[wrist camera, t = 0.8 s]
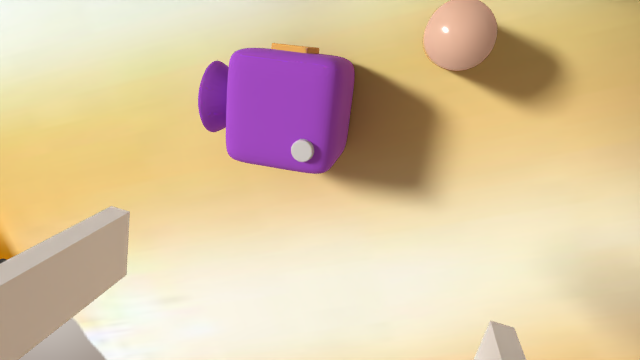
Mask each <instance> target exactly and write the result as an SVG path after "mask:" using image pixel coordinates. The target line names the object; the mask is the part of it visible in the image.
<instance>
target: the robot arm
mask: <svg viewBox="0 0 640 360" xmlns="http://www.w3.org/2000/svg"><path fill="white" fill-rule="evenodd" d="M129 216H130V212H129V211H126V210H122V209H119V208H116V207H112V206H111V207H109V208H107V209H105V210H103V211H101V212H99V213H97V214H95V215H93V216H91V217H89V218H87V219H85V220H83V221H82V222H80V223H78V224H76V225H74V226H72V227H70V228H68V229H66V230H64V231H62V232H60V233H58V234H56V235H55V236H53V237H51V238H49V239H47V240H45V241H43V242H41V243H39V244H37V245H35V246H33V247H31V248H29V249H27V250H26V251H24V252H22V253H20V254H18V255H16V256H14V257H12V258H10V259H8V260H6V259H0V360H19V359H20V358H21V357H22V356H24V355H25V354H26V353H28V352H29V351H30V350H31V349H33V348H34V347H35V346H36V345H38V344H39V343H40V342H42V341H43V340H44V339H45V338H47V337H48V336H49V335H50V334H52V333H53V332H54V331H55V330H57V329H58V328H59V327H60V326H62V325H63V324H64V323H66V322H67V321H68V320H69V319H71V318H72V317H73V316H75V315H76V314H77V313H78V312H80V311H81V310H82V309H83V308H85V307H86V306H87V305H89V304H90V303H91V302H92V301H94V300H95V299H96V298H97V297H99V296H100V295H101V294H103V293H104V292H105V291H106V290H108V289H109V288H110V287H111V286H113V285H114V284H115V283H117V282H118V281H119V280H120V279H122V278H123V277H124V276H125V275H126V273H127V254H128V235H129ZM474 360H526V358H525V355H524V353H523V350H522V347H521V345H520V342H519V339H518V337H517V334H516V331H515V329H514V328H513V327H510V326H506V325H503V324H500V323H497V322H493V321H490V322H489V325H488V327H487V329H486V332H485V334H484V336H483V339H482V341H481V343H480V346H479V348H478V350H477V353H476V355H475V357H474Z"/></svg>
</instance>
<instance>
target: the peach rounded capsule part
mask: <svg viewBox="0 0 640 360" xmlns="http://www.w3.org/2000/svg"><path fill="white" fill-rule="evenodd" d="M496 38H497V23H496V19H495V17H494V14H493V13H492V11H491V10H490V9H489V7H488V6H486V5H485V4H484V3H482V2H481V1H479V0H451V1H448V2H446V3H445V4H443V5H442V6H440V7H439V8H438V9H437V10H436V11H435V12H434V13H433V15H432V16H431V18H430V20H429V22H428V24H427V26H426V28H425V31H424V35H423V48H424V51H425V54H426V56H427V57H428V58H429V60H430V61H431V62H433V63H434V64H435V65H437V66H439V67H442V68H445V69H448V70H454V71H460V70H466V69H470V68H472V67H474V66H476V65H478V64H479V63H481V62H482V61H483V60H484V59H485V58H486V57H487V56H488V55H489V54H490V52H491V51H492V49H493V47H494V45H495V42H496Z"/></svg>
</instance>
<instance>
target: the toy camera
mask: <svg viewBox="0 0 640 360" xmlns="http://www.w3.org/2000/svg"><path fill="white" fill-rule="evenodd" d="M354 77H355V72H354V67H353V64H352V63H351V62H350V61H349V60H347V59H345V58H342V57H338V56H332V55H324V54H319V48H313V47H304V46H295V45H286V44H277V43H272V49H265V48H245V49H241V50H238V51H236V52H235V53H233V55H232V56H231V59H230V62H229V67H228V66H226V65H225V64H224V63H222V62H220V61H214V62H212V63H211V64H210V65H209V66H208V67H207V69H206V71H205V73H204V75H203V77H202V80H201V84H200V88H199V96H198V107H199V113H200V117H201V120H202V123H203V125H204V126H205V128H206V129H207V130H208V131H211V132H217V131H219V130H221V129H223V128H225V127H226V147H227V152H228V154H229V155H230V157H232V158H233V159H235V160H238V161H241V162H245V163H250V164H256V165H262V166H268V167H274V168H280V169H286V170H292V171H298V172H305V173H314V174H317V173H324V172H326V171H327V170H329V169H330V168H331V167H332V166H333V164H334V163H335V162H336V160H337V159H338V158H339V156H340V155H341V154H342V152H343V150H344V148H345V145H346V141H347V135H348V128H349V120H350V112H351V105H352V97H353V89H354Z"/></svg>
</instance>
